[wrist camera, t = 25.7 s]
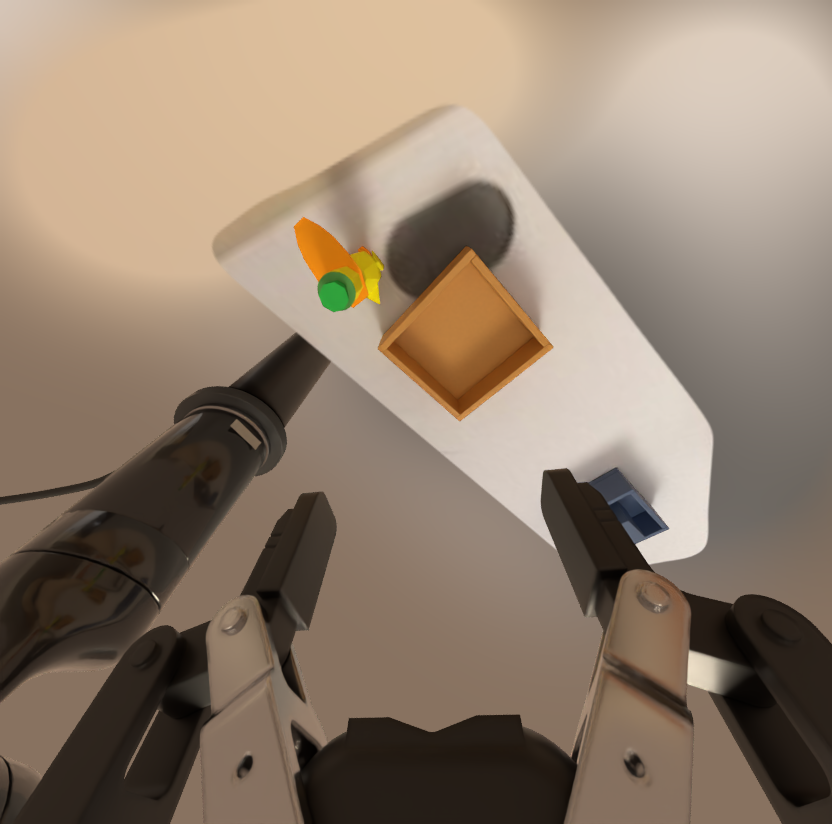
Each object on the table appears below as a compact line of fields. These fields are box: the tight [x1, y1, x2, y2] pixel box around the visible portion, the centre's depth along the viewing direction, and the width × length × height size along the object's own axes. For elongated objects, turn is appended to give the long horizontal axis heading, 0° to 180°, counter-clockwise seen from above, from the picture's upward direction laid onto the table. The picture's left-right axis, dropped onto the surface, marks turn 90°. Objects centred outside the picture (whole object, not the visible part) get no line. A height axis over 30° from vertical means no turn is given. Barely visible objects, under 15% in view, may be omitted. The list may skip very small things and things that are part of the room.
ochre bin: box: [378, 246, 553, 421], centre depth 28 cm, size 11×11×4 cm
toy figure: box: [294, 217, 384, 312], centre depth 21 cm, size 7×4×12 cm, turn 35°
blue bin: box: [588, 468, 669, 544], centre depth 39 cm, size 10×10×4 cm
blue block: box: [609, 501, 646, 543], centre depth 39 cm, size 4×4×4 cm
